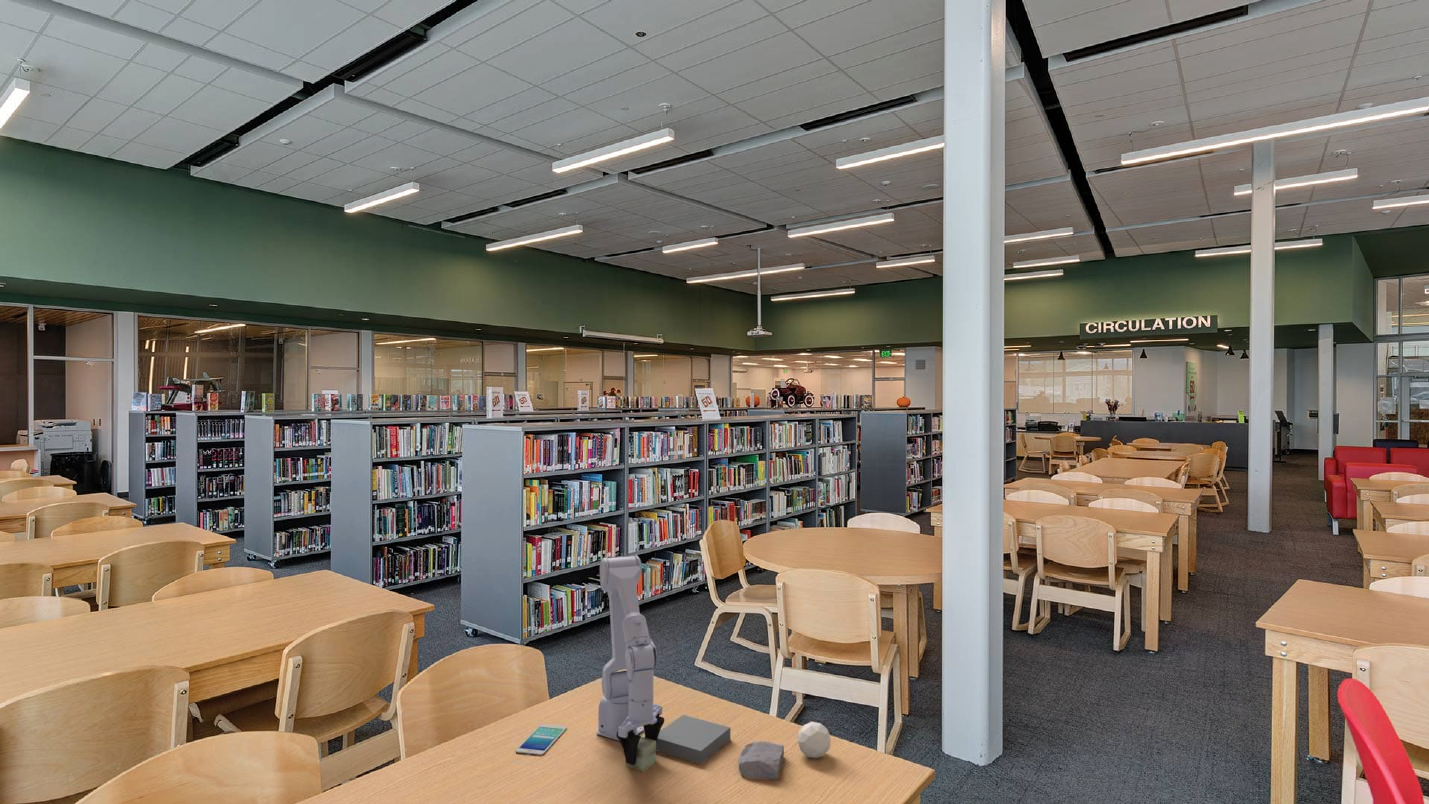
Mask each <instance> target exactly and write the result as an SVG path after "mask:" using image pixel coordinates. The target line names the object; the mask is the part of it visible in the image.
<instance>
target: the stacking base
mask: <svg viewBox="0 0 1429 804" xmlns="http://www.w3.org/2000/svg"><path fill="white" fill-rule="evenodd" d="M730 740H731V727H730V726H727V725H723V724H719V723H714V722H710V721H707V720H704V719H700V718H696V717H693V716H689V715H686V714H682V715H681V716H679V717H678V718H676V719H675V720H673V721H672V722H671V723H669V724H667V725H666V726H665V727H663V728H661V730H660V732H659V735H658V739H657V743H656V752H659V753H663V754H667V755H669V756H673V757H677V758H680V759H683V760H686V761H689V762H692V763H697V764H700V765H702V764H703V763H704V762H706V760H708V759H709V758H711V756H712V755H714V754H715V753H716V752H717V751H719V749H721V748H722V747H724V746H725V745H726V744H727V743H728V742H729V741H730Z"/></svg>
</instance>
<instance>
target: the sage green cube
mask: <svg viewBox="0 0 1429 804" xmlns="http://www.w3.org/2000/svg"><path fill="white" fill-rule="evenodd" d="M656 763H657V751H656V741H655V740H651V739H648V738H645V736H641V738H640V740H639V743H638V748H637V757H636V763H635V764H634V765H631V764H628V763H627V762H626V761H625V767H627V768H631V769H634V770H636V771H640V772H645V771H646V770H648V769H649V768H650V767H651V766H653V765H654V764H656Z"/></svg>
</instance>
